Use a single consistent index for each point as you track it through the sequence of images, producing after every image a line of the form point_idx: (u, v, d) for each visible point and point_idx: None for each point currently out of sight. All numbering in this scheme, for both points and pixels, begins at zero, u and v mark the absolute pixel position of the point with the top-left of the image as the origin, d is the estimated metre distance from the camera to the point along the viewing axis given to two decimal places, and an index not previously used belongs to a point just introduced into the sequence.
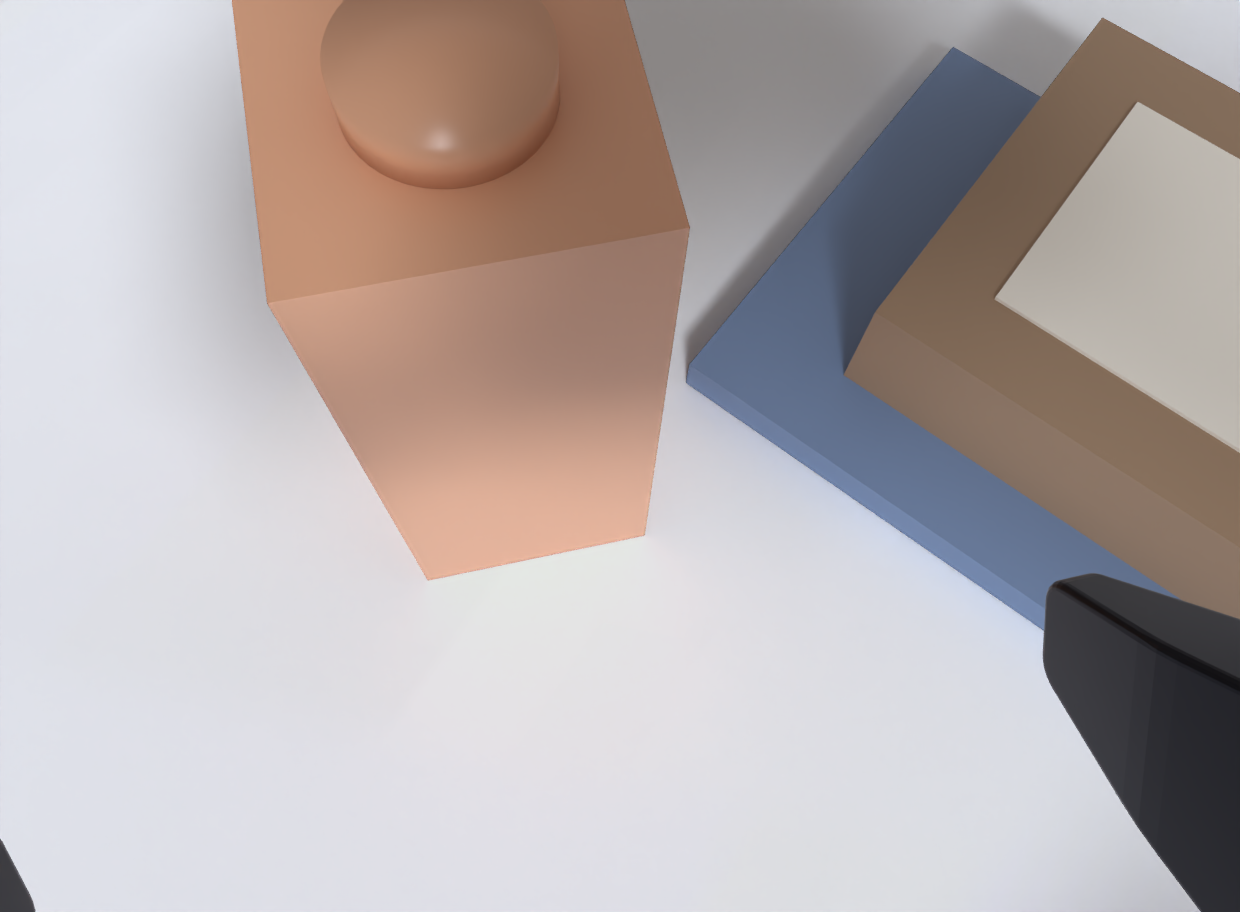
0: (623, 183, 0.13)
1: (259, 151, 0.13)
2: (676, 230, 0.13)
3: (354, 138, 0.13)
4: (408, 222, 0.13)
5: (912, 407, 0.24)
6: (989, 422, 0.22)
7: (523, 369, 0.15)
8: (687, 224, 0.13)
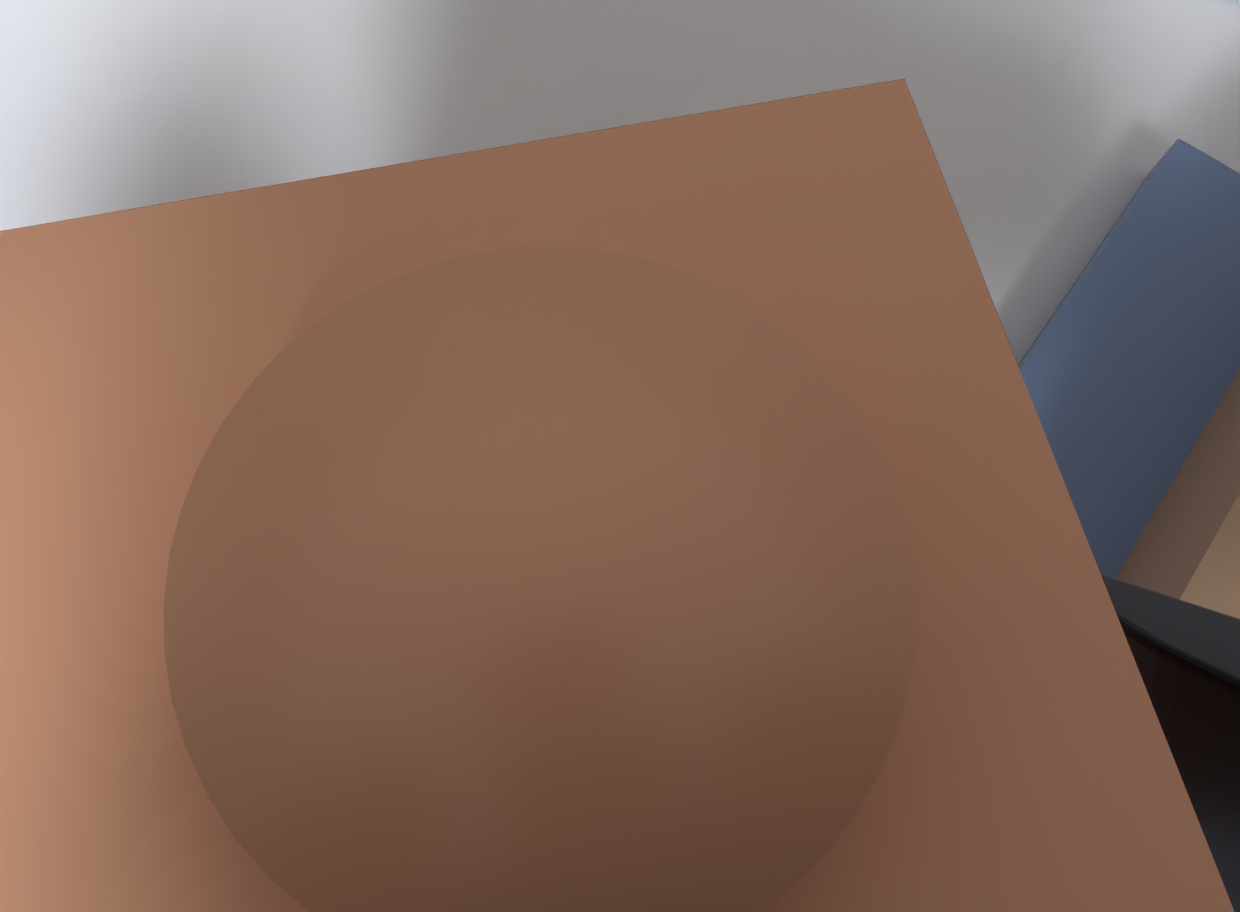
0: None
1: None
2: None
3: None
4: None
5: None
6: None
7: None
8: None
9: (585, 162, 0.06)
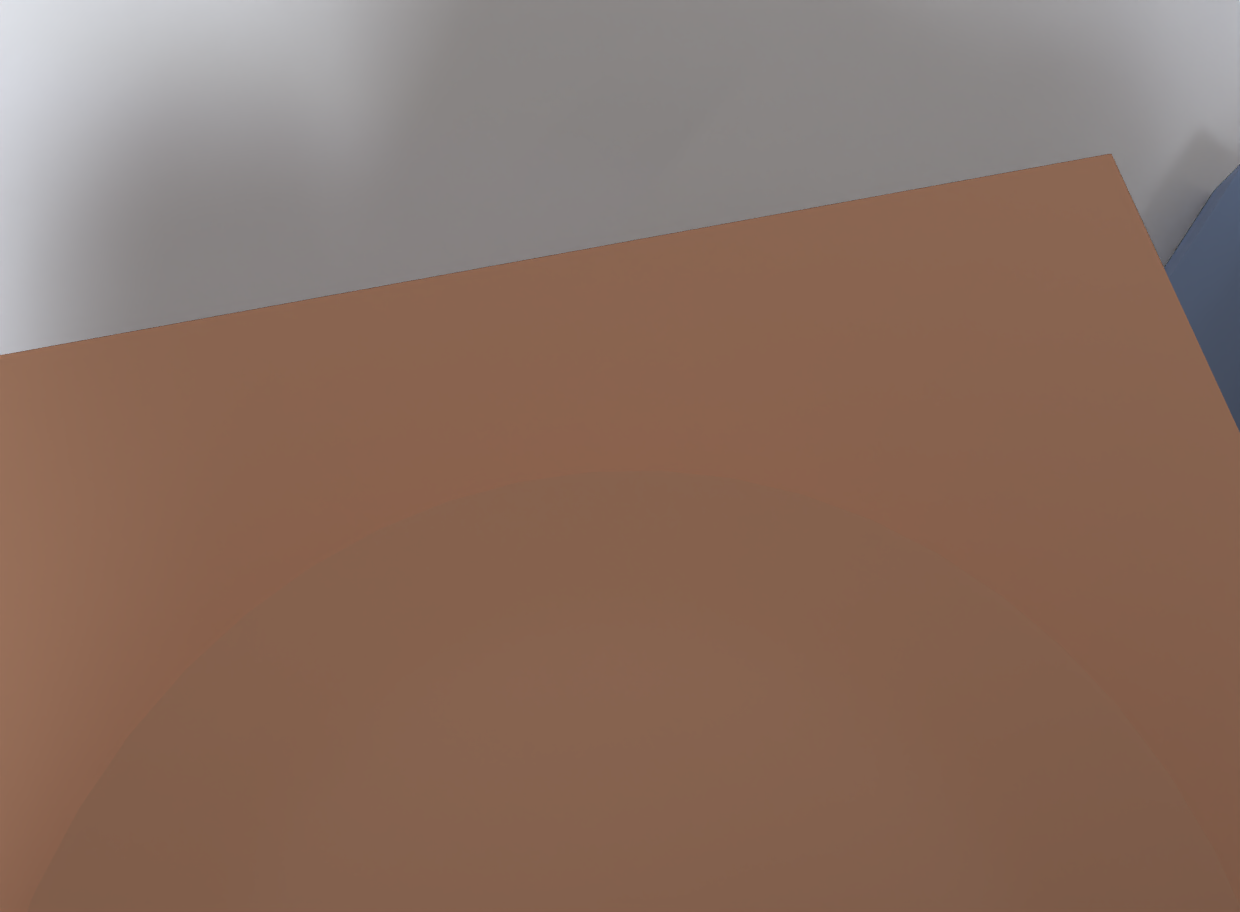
0: None
1: None
2: None
3: None
4: None
5: None
6: None
7: None
8: None
9: (661, 281, 0.04)
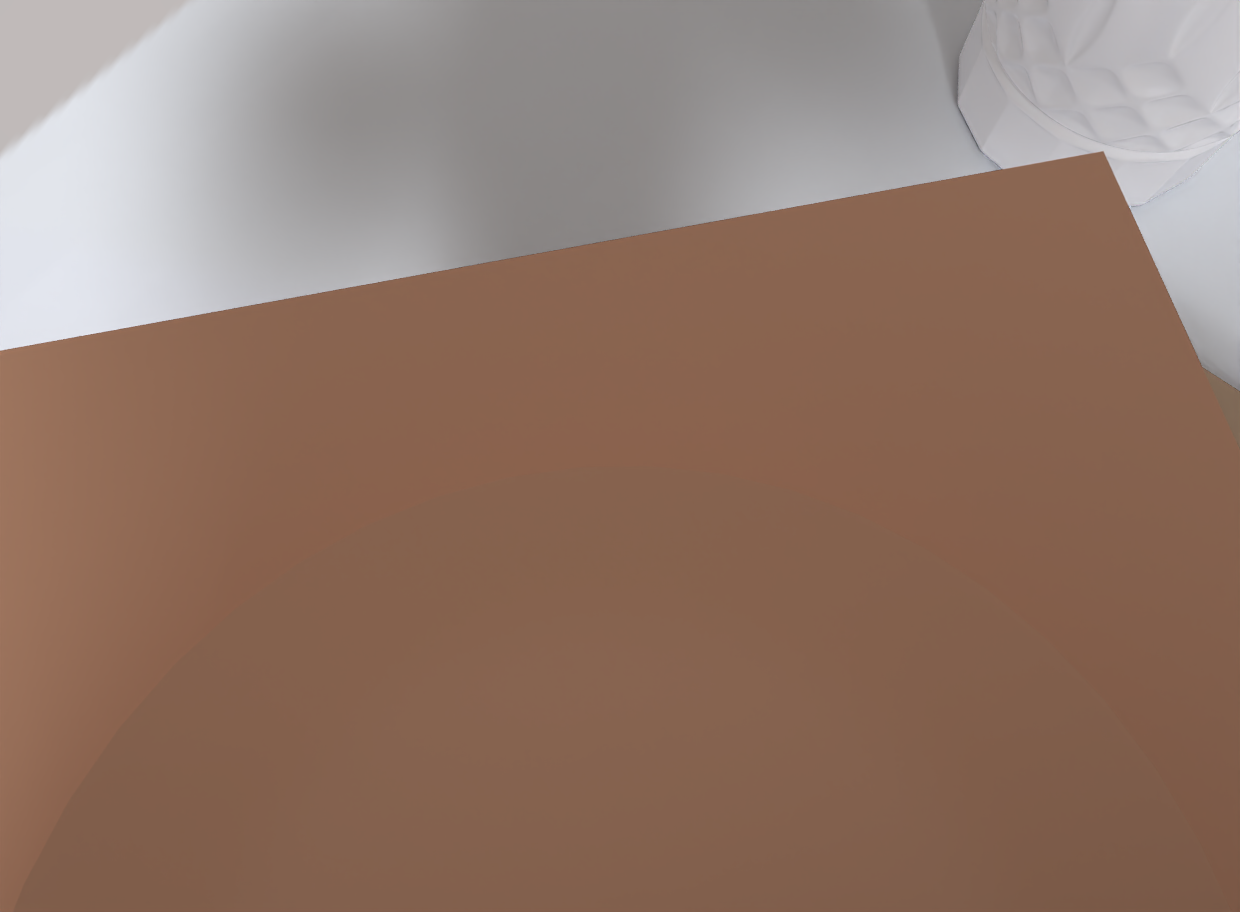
0: None
1: None
2: None
3: None
4: None
5: None
6: None
7: None
8: None
9: (653, 278, 0.04)
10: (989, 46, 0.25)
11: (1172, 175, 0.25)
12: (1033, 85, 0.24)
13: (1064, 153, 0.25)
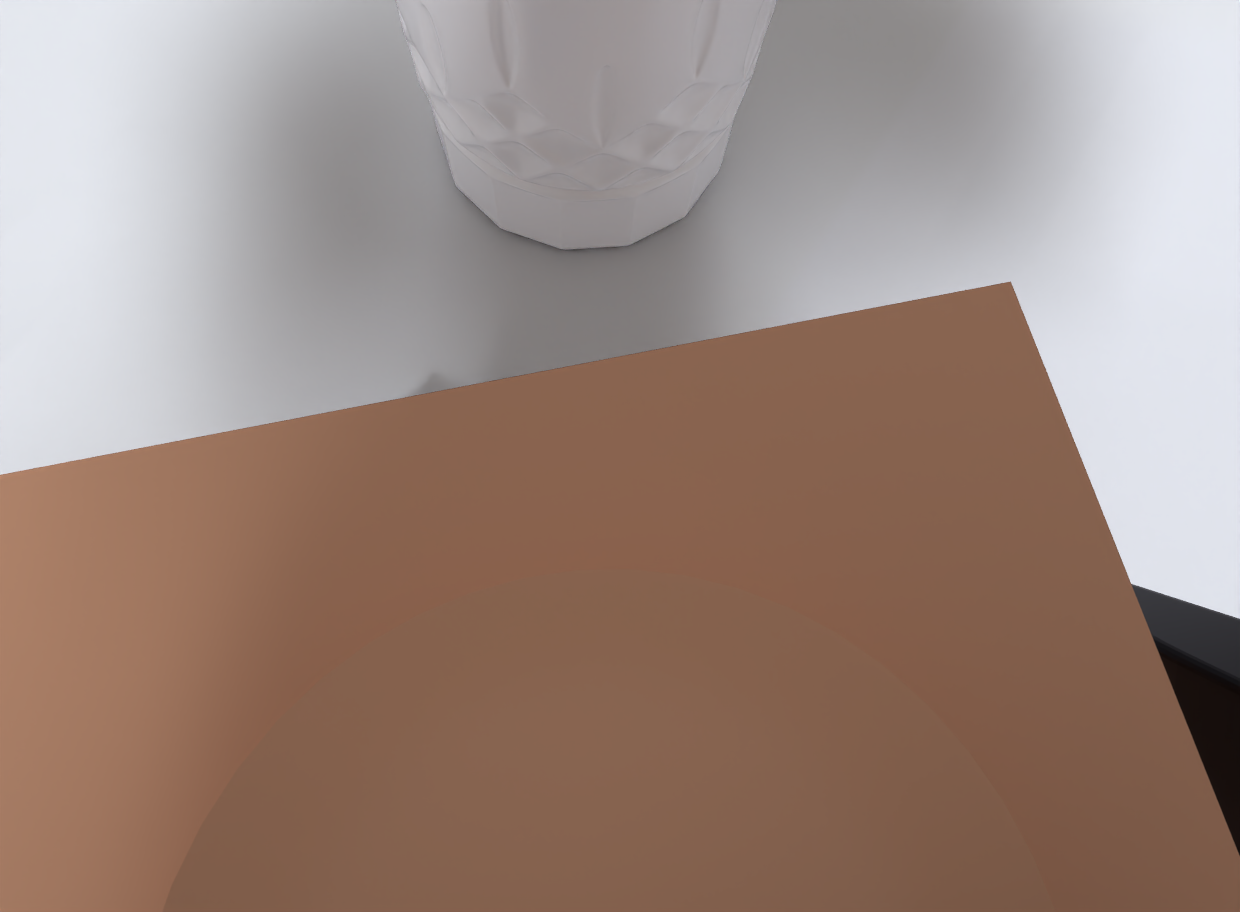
0: None
1: None
2: None
3: None
4: None
5: None
6: None
7: None
8: None
9: (638, 391, 0.05)
10: None
11: (635, 214, 0.23)
12: (441, 117, 0.21)
13: (504, 191, 0.22)
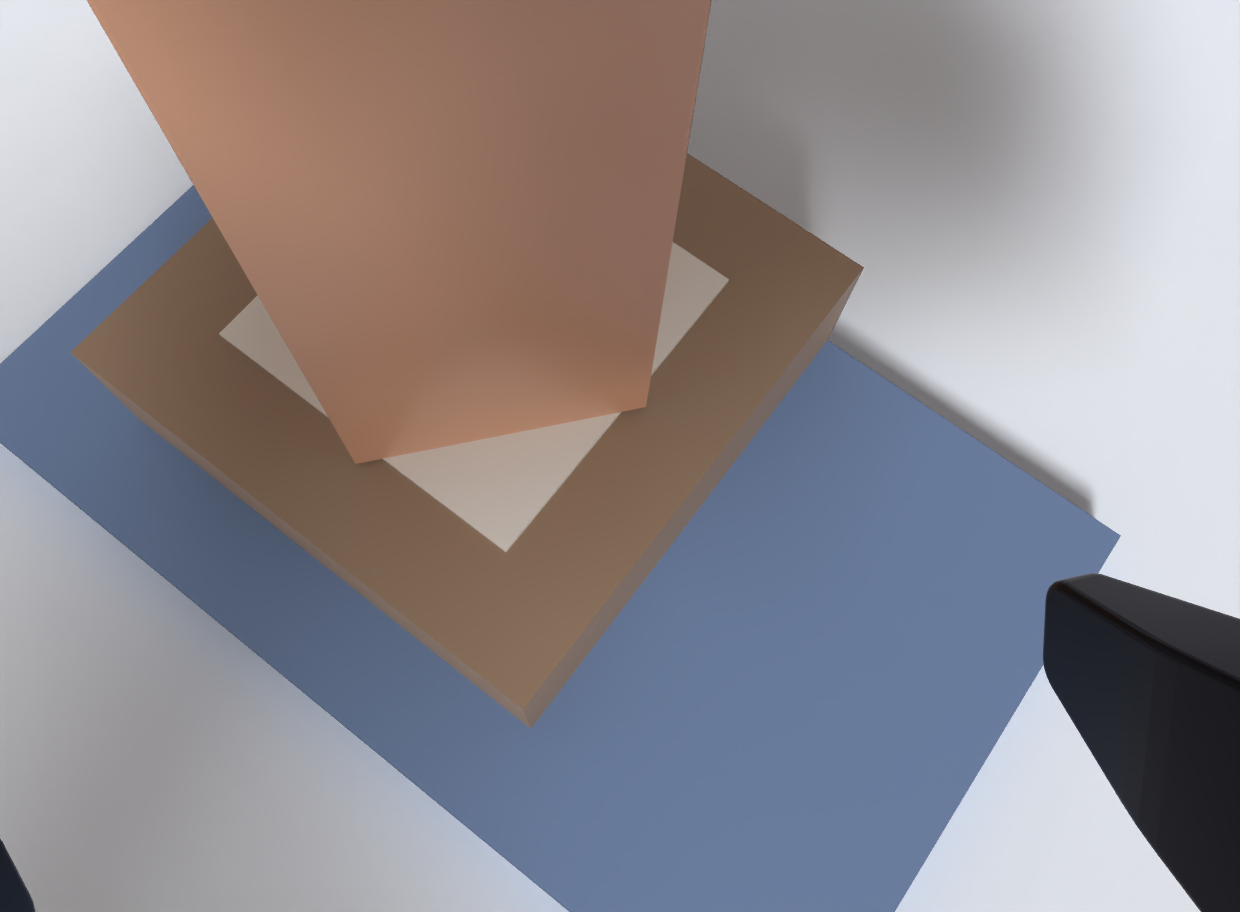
0: None
1: None
2: None
3: None
4: None
5: (191, 458, 0.20)
6: (228, 482, 0.19)
7: (465, 21, 0.09)
8: None
9: None
10: None
11: None
12: None
13: None
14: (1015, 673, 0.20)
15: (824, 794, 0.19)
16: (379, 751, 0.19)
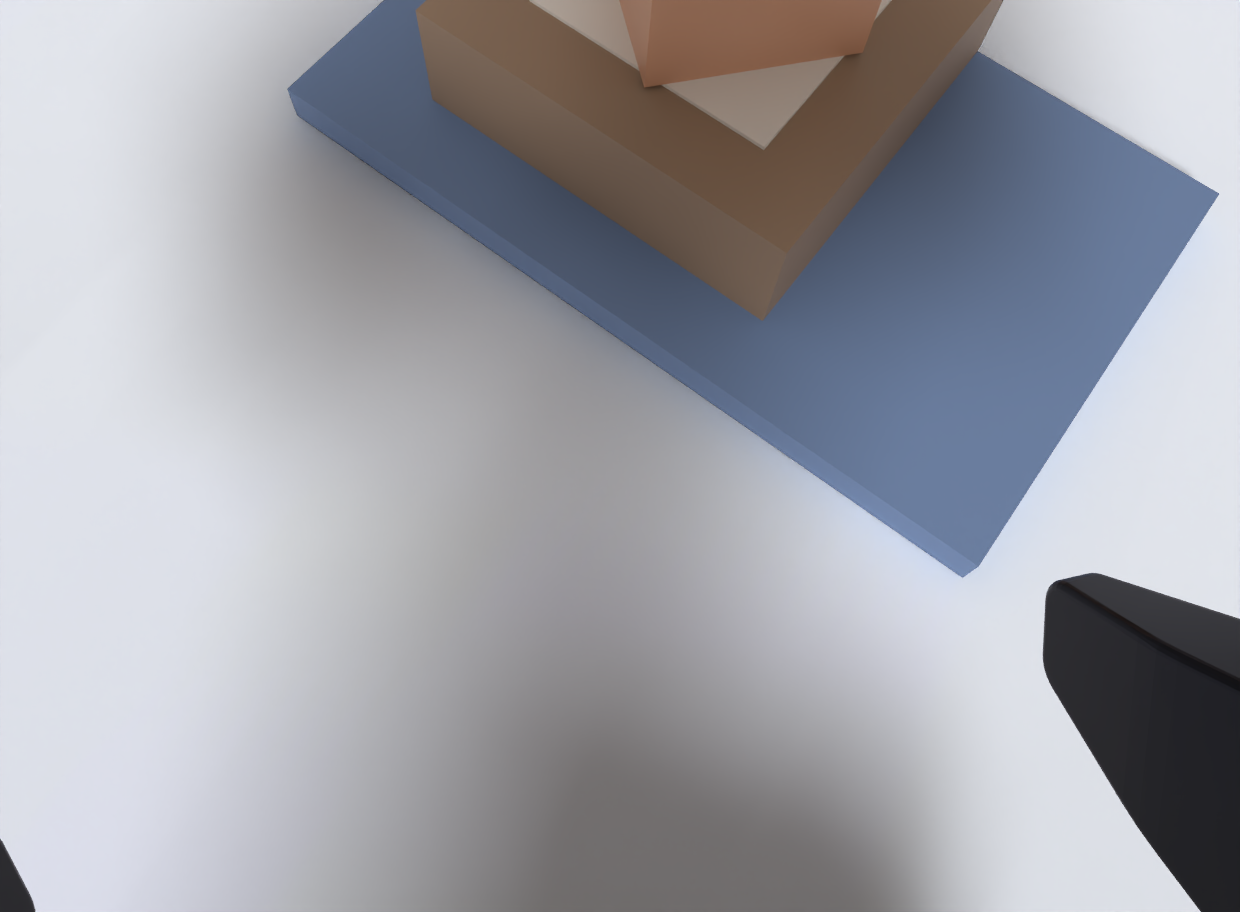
0: None
1: None
2: None
3: None
4: None
5: (484, 122, 0.26)
6: (530, 120, 0.24)
7: None
8: None
9: None
10: None
11: None
12: None
13: None
14: (1140, 288, 0.25)
15: (994, 369, 0.24)
16: (646, 334, 0.24)
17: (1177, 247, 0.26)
